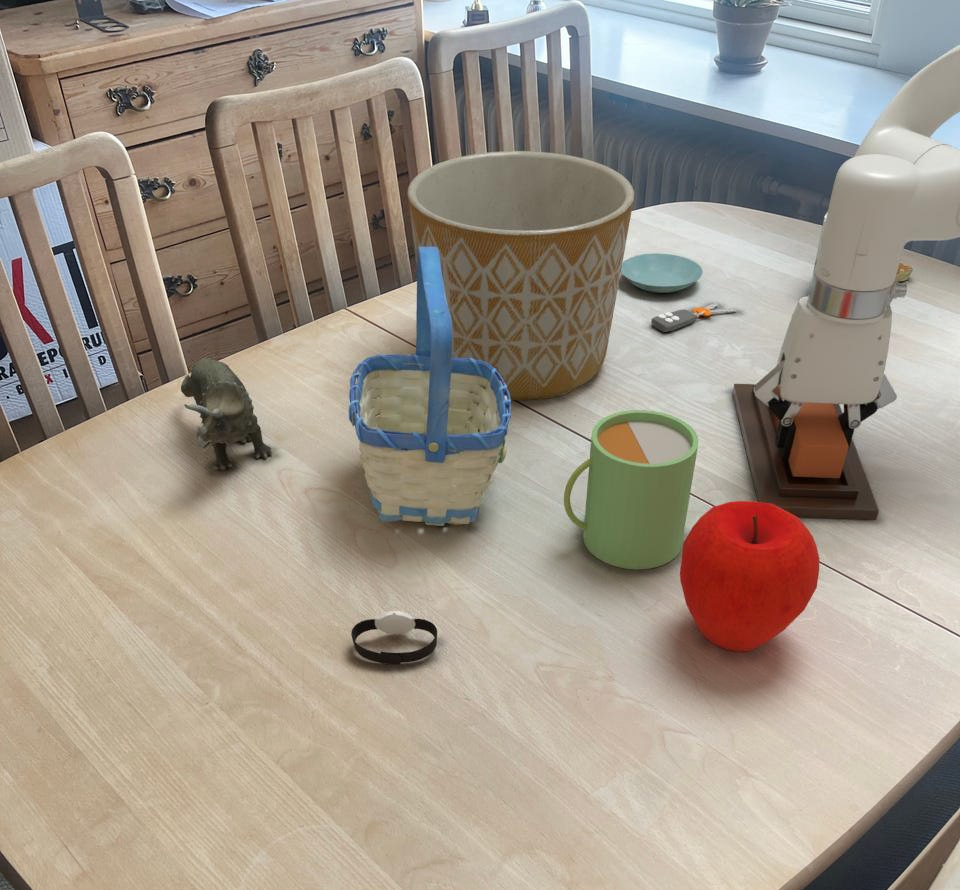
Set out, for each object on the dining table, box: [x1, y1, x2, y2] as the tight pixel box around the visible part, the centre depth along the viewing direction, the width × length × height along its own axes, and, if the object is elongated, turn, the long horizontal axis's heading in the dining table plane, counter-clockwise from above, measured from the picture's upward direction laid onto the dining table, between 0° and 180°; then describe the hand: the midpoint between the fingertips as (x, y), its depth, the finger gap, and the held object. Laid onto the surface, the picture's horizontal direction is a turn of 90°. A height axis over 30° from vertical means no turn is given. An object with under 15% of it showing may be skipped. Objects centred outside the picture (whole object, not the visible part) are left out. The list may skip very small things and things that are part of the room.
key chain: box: [651, 302, 739, 333], centre depth 144 cm, size 13×4×2 cm, turn 123°
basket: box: [348, 247, 512, 527], centre depth 106 cm, size 21×16×24 cm
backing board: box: [732, 383, 880, 520], centre depth 118 cm, size 26×12×5 cm, turn 176°
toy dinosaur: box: [180, 357, 273, 471], centre depth 117 cm, size 22×8×11 cm, turn 18°
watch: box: [350, 610, 438, 665], centre depth 94 cm, size 8×5×4 cm, turn 91°
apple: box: [679, 500, 821, 652], centre depth 92 cm, size 12×12×13 cm
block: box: [788, 403, 849, 478], centre depth 114 cm, size 9×5×4 cm, turn 176°
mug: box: [563, 409, 700, 570], centre depth 103 cm, size 13×10×12 cm
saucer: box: [621, 252, 704, 294], centre depth 152 cm, size 12×12×2 cm
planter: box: [407, 150, 635, 401], centre depth 128 cm, size 26×26×22 cm
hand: (809, 451), depth 115 cm, fingers closed on block, 5 cm apart
